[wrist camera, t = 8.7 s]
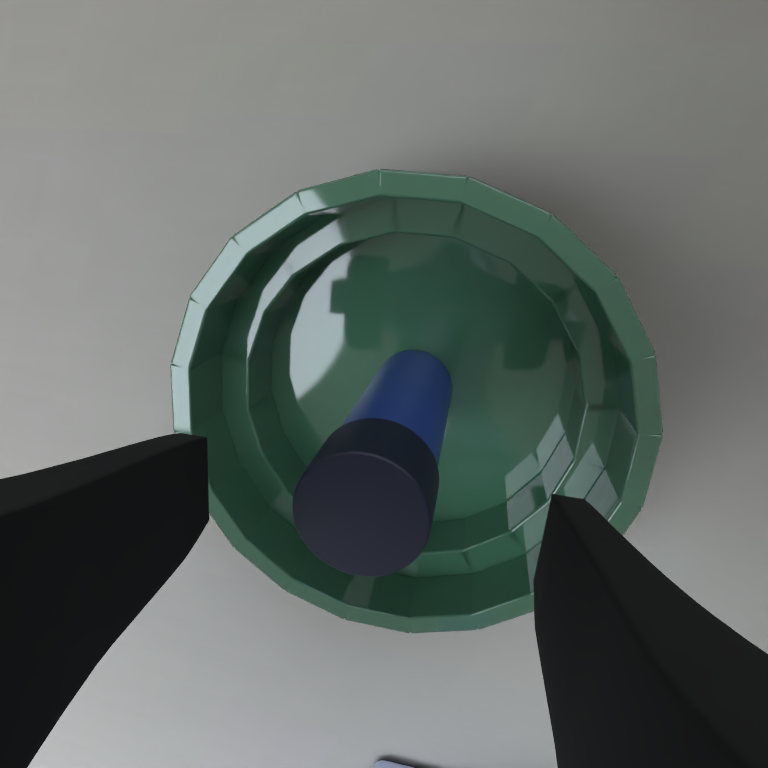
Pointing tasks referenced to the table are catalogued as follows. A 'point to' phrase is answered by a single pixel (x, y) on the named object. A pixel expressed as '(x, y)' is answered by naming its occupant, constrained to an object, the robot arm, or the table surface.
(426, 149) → the table surface
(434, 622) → the bowl
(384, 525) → the marker
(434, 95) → the table surface
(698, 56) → the table surface
